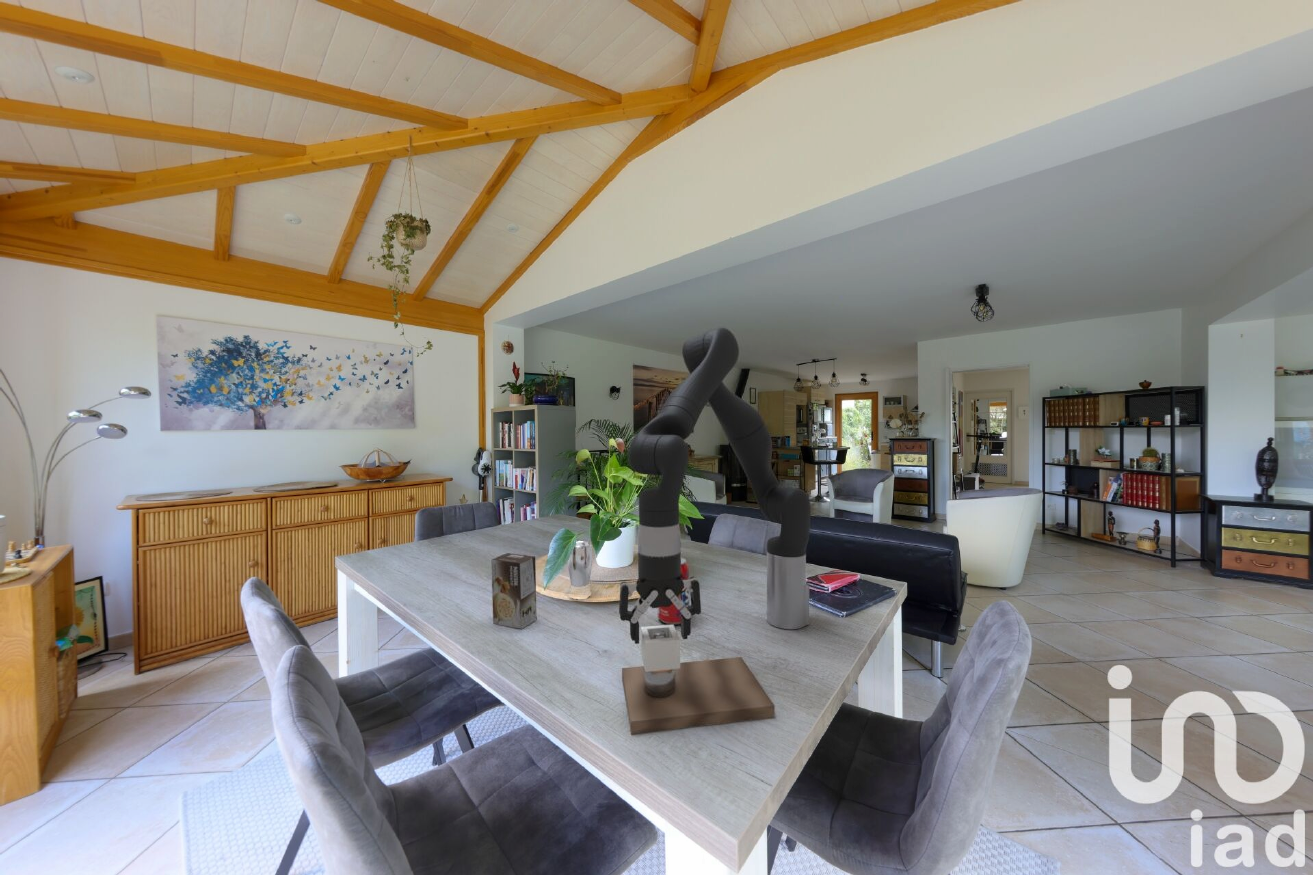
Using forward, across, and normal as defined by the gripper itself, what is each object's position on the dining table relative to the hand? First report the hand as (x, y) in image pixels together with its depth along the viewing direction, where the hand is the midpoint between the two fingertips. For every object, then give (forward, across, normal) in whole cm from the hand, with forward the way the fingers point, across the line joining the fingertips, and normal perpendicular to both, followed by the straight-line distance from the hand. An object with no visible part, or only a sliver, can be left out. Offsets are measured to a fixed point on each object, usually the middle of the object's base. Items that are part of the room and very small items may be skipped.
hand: (660, 639), depth 81 cm
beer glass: (+11, +14, -52) cm, 55 cm away
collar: (+4, 0, 0) cm, 4 cm away
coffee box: (+11, +30, -38) cm, 50 cm away
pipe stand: (+11, -6, 0) cm, 12 cm away
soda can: (+11, -9, -32) cm, 35 cm away
